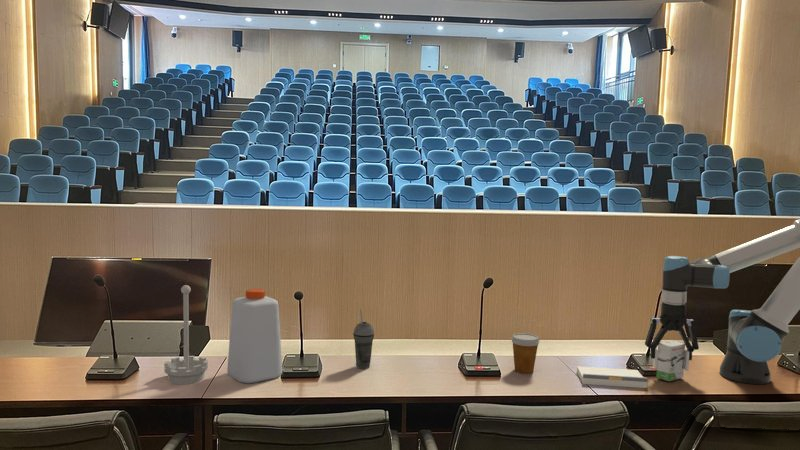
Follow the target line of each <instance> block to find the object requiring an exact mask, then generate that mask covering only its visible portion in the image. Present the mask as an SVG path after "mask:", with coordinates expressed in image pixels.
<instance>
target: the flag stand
mask: <svg viewBox="0 0 800 450" xmlns="http://www.w3.org/2000/svg"><path fill="white" fill-rule="evenodd" d="M180 291H181V292H180V293H182V296H183V297H182V302H183V306H182V307H183V311H182V312H183V313H182V314H183V318H182V319H183V359H180V356H176V357H173V358H170V361H169V360H167V361H165V362H164V369H163V370H164V373H165V374H166V375H167V381H168V383H170V384H174V385H189V384H196V383H198V382H201V381H203V380H204V379H205V377H206V376H205V373H206V371H207V370H208V369H209V359H208V360H207V357H204V356H199V357H198V359H197V358H195V357H196V356H195V355H190V351H189V350H190V349H189V348H190V343H189V342H190V340H189V339H190V338H189V335H190V334H189V332H190V331H189V329H190V328H189V325H190V324H189V321H190V319H189V318H190V317H189V315H190V314H189V310H190V309H189V304H190V303H189V294H190V293H191V291H192V289H191V287H190V286H189V285H188V284H185V285H183V286H182V287H181V288H180Z"/></svg>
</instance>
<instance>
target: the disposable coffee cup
mask: <svg viewBox="0 0 800 450" xmlns="http://www.w3.org/2000/svg"><path fill="white" fill-rule="evenodd" d="M511 342H512V350H513V363H514V371H515V372H517V373H520V374H532V373H534V369H535V365H536V357H537V353H538V348H539V347H538V346H539V344H540V339H539V336H538V335H536V334H533V333H526V332H522V333H520V332H517V333H514V334H513V335H512V337H511Z"/></svg>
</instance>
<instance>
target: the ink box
mask: <svg viewBox="0 0 800 450" xmlns="http://www.w3.org/2000/svg"><path fill="white" fill-rule="evenodd" d="M685 348H686V345H685V343H684V342H683V343H682V342H681V341H680V342H679V341H676V340H667V341H660V343H659V344H658V346H657V349H658V364H657V369H656V377H655V378H658V379H660V380H662V381H663V380H664V381H667V382H672V381H676V380H679V379H682V378H684V370H685V369H684V353H685Z"/></svg>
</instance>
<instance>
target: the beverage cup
mask: <svg viewBox="0 0 800 450" xmlns="http://www.w3.org/2000/svg"><path fill="white" fill-rule="evenodd" d="M359 312H360V322H359V323H358V324H356V325H355V327H354V330H353V333H352V335H353V339H354V349H355V350H354V351H355V364H356V368H357V369H361V370H366V369H369V368H370V367H371V361H372V360H371V359H372V351H373V350H372V349H373V341H374V338H375V331H374V327H373V326H372V325H371V324H370V323H369V322H366V321H364V320H363V312H362V309H359Z"/></svg>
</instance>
